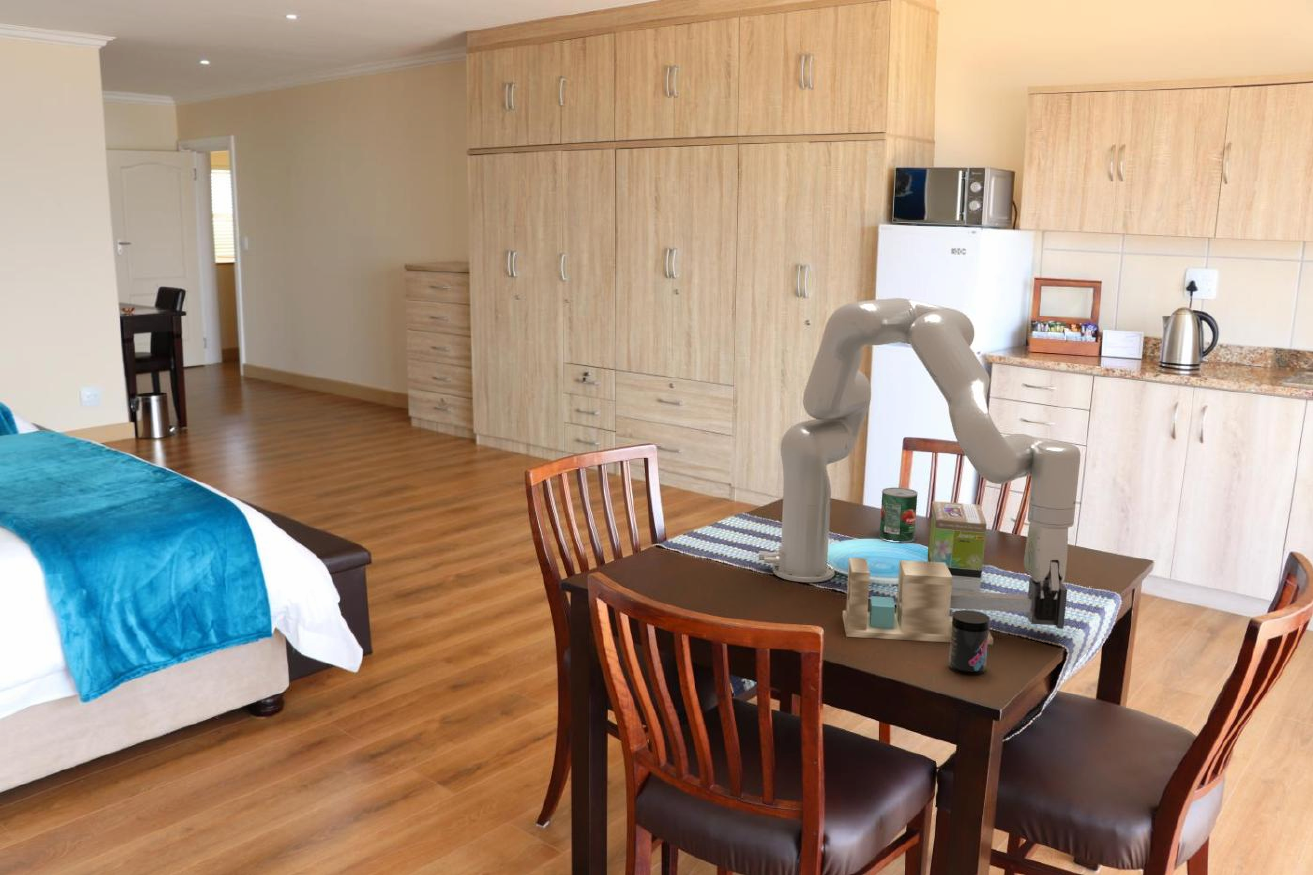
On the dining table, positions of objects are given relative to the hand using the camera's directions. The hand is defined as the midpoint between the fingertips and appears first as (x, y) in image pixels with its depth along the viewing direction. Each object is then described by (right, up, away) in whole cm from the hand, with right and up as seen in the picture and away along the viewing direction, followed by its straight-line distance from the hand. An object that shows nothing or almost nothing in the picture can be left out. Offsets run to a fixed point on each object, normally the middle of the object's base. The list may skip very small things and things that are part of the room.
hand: (1041, 613), depth 189 cm
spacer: (-25, 0, +3) cm, 26 cm away
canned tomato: (-13, +8, +57) cm, 59 cm away
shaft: (-10, -1, +1) cm, 10 cm away
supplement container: (-17, -7, -13) cm, 22 cm away
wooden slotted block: (-21, -3, +3) cm, 22 cm away
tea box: (-8, +2, +29) cm, 30 cm away
